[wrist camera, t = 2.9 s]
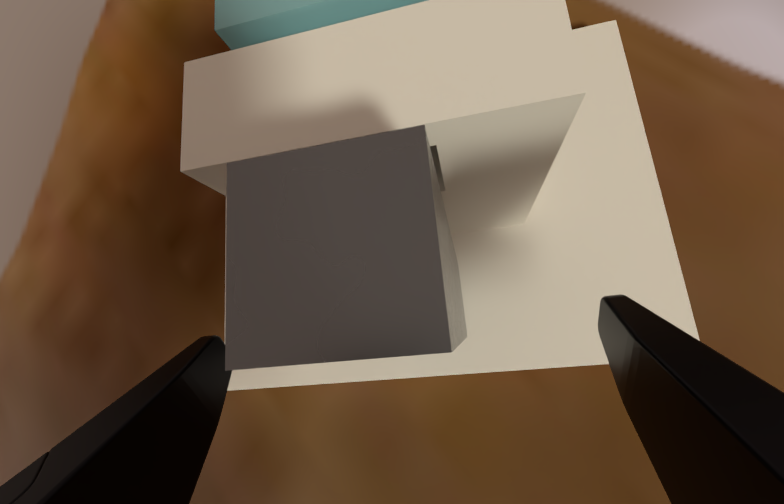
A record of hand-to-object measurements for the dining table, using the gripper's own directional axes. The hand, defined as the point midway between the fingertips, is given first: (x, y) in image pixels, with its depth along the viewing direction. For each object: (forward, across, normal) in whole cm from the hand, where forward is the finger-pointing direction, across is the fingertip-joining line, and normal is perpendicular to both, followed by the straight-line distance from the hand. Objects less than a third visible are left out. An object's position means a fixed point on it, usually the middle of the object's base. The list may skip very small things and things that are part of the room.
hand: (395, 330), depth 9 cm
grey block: (+9, 0, +1) cm, 9 cm away
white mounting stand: (+11, 0, +3) cm, 11 cm away
